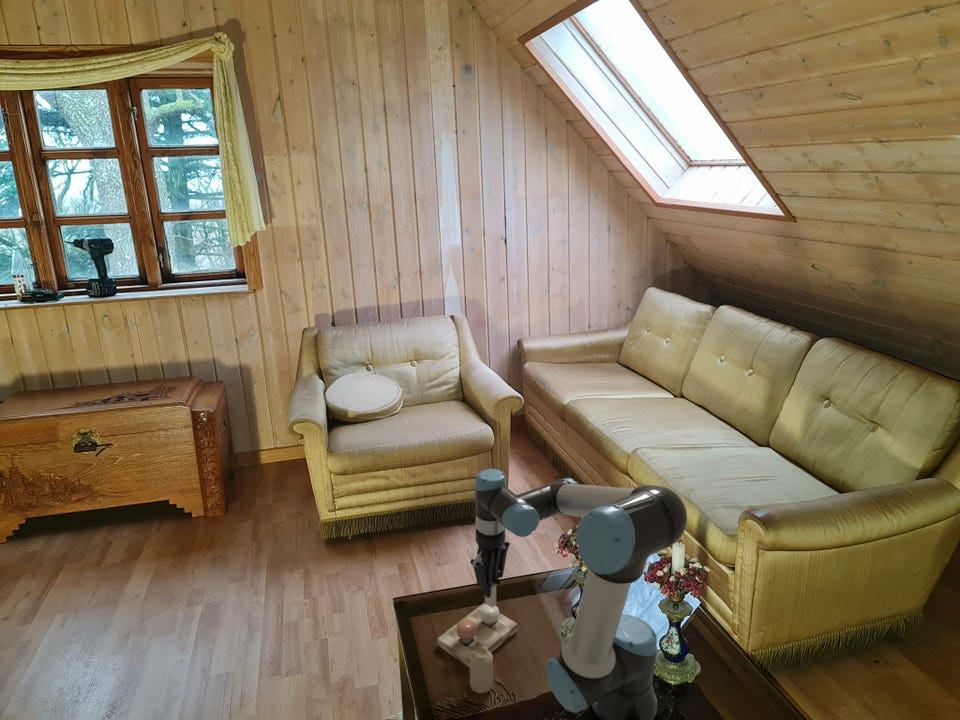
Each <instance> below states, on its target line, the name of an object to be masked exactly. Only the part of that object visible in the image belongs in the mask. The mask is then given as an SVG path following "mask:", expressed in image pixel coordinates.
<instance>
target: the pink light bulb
mask: <svg viewBox="0 0 960 720" xmlns="http://www.w3.org/2000/svg"><path fill="white" fill-rule="evenodd" d="M463 619H464V618H463ZM456 624H457V635H458V637H460V638H462V643H463V645H470V642H471V638H473V637H474V636H475V635H476V624H475V622H474V621H472V620H469V619H464V620H462V619H461V620H459V621H458V622H457V623H456Z"/></svg>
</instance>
